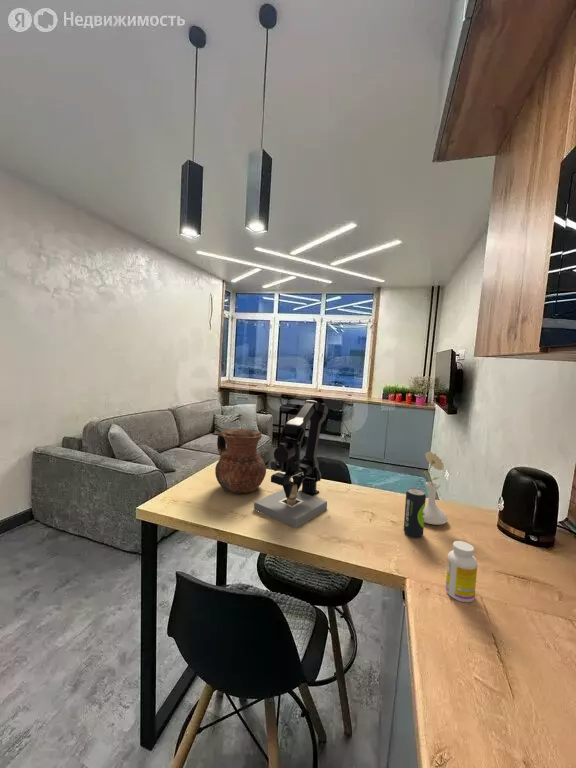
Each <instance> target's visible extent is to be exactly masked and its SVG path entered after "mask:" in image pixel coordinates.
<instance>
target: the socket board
mask: <svg viewBox="0 0 576 768" xmlns="http://www.w3.org/2000/svg"><path fill="white" fill-rule="evenodd" d="M299 491H300V490H298V492H297V498H296V504H295V505H293V506H291V505H289V504H287V498H286V494H285V491H284V488H283V489H279V490H278V491H276V492H274V493H271V494H269V495H267V496H265V497H262V498H260V499H258V500H256V501H253V510H254V509H255V510H254V511H256V510H257V511H256V512H258V511H259V512H258V513H260V512H261V513H260V514H262V513H263V515H265V516H267V517H268V518H272V519H275V520H277V521H279V522H281V523H283V524H285V525H288V526H290V527H293V528H295V529H297V528H298V527H300V526H301V525H303V524H305V523H306V522H307V521H309V520H311V519H312V518H314V517H316V516H317V515H319V514H320V513H322V512H324V511H326V510H327V509H328V501H327V500H326V499H325V500H324V499H322V498H319V497H316V496H315V495H313V496H311V495H308V494H305V493H302V492H299Z"/></svg>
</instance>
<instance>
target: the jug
mask: <svg viewBox="0 0 576 768" xmlns="http://www.w3.org/2000/svg"><path fill="white" fill-rule="evenodd" d="M262 437H263V435H262V431H260V430H258V431H257V430H255V431H252V430H249V429H247V428H246V429H245V428H244V429H243V428H234V429H226V430H222V431H220V432H219V433H218V436H217V439H216V440H217V442H216V446H217V452H218V454H219V456H220V457H219V460H218V462H216V465H215V468H214V469H215V471H214V473H215V478H216V481H217V482H218V484H219V485H220V486H221V488H222V489H224V490H225V491H226V492H229V493H230V492H232V493H231V494H249V493H252V492H254V491H255V490H257V489H259V487H260V486H261V485H262V483H263V481H264V479H265V477H266V475H267V466H266V464H265V462H264V459H263V458H262V457H261V456H260V455H259V454H258V452H257V449H258V443H259V442H260V440H261V439H262ZM248 492H249V493H248Z"/></svg>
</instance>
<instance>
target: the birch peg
mask: <svg viewBox="0 0 576 768" xmlns="http://www.w3.org/2000/svg"><path fill="white" fill-rule="evenodd" d="M286 498H287V497H286ZM296 498H297V485H296V484H293V487H292V490H291V494H290V496H289V498H287V504H289V505H291V506H293V505H295V504H296Z"/></svg>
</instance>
